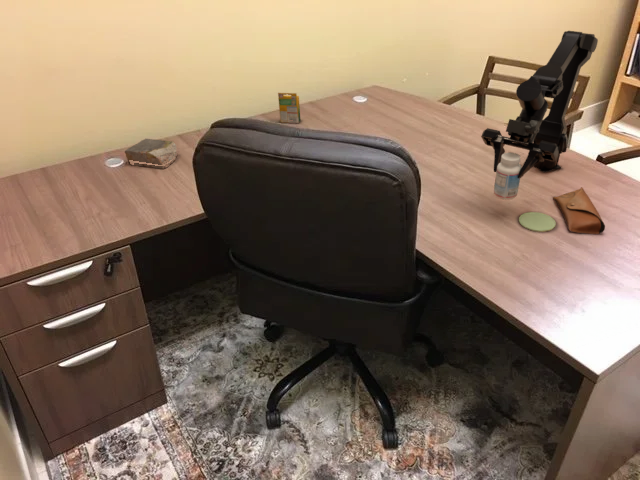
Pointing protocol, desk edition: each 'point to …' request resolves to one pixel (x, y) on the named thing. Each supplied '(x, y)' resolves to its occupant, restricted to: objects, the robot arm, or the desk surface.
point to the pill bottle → (507, 176)
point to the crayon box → (289, 107)
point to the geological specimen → (152, 152)
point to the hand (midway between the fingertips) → (506, 174)
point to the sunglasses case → (580, 212)
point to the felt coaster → (537, 221)
